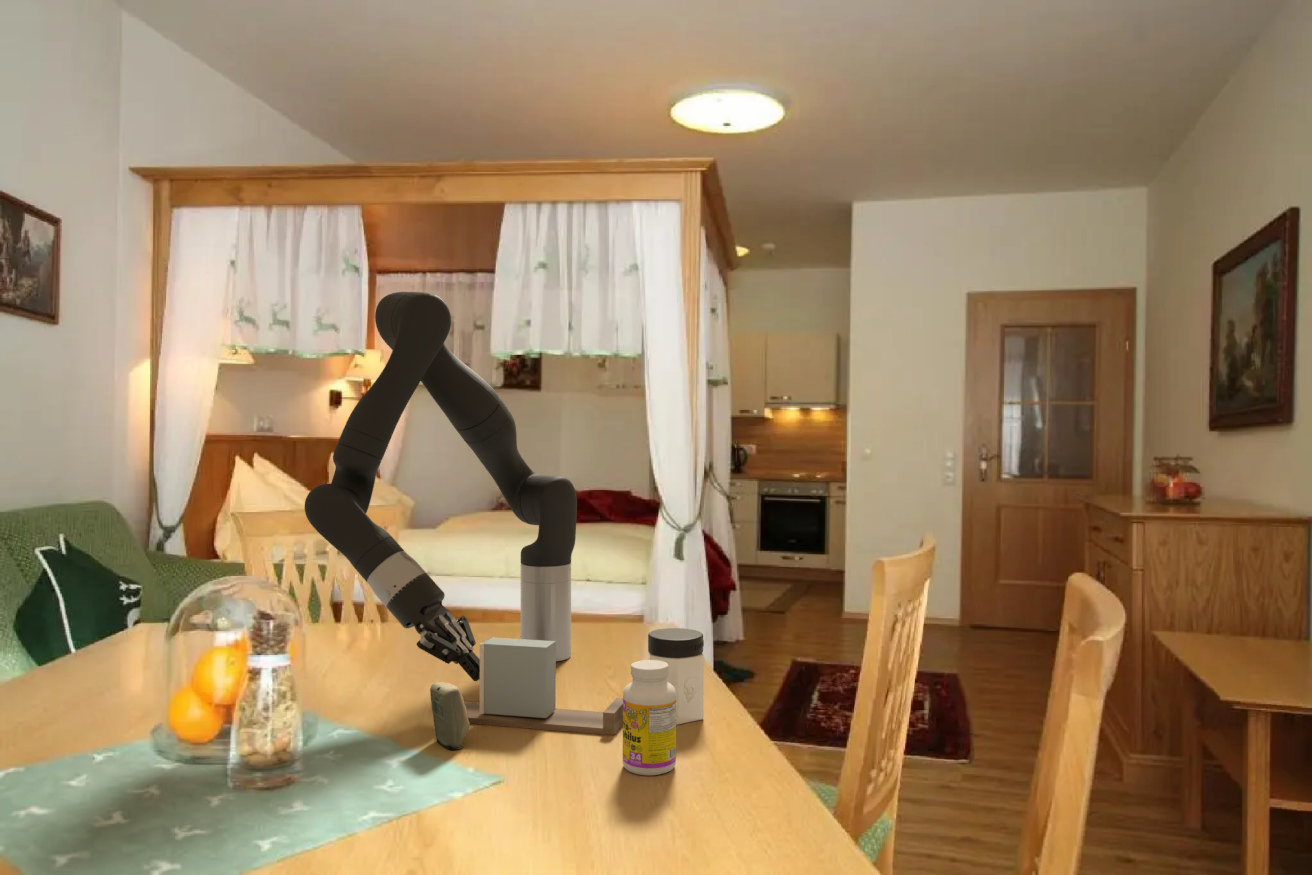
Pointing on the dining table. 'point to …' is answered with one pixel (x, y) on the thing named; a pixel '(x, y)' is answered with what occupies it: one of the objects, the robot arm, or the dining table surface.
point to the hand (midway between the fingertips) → (482, 676)
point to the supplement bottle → (649, 720)
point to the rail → (556, 719)
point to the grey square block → (518, 677)
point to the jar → (682, 668)
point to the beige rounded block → (449, 715)
